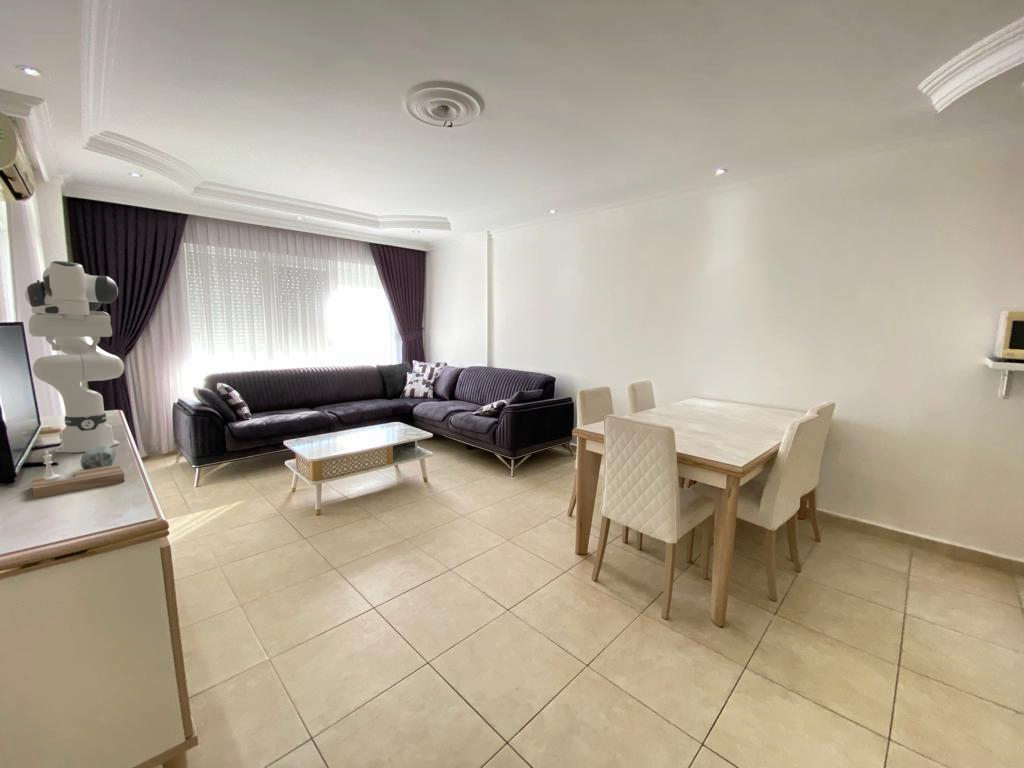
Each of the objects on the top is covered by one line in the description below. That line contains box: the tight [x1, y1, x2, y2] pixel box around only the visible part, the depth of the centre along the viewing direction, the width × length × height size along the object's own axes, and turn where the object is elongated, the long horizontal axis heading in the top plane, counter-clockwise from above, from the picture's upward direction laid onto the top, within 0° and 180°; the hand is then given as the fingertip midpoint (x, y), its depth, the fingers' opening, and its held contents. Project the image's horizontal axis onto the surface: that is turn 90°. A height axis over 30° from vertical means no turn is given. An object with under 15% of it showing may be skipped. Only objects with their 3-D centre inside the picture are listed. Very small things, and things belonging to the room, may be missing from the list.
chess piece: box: [42, 449, 62, 482], centre depth 139 cm, size 5×5×10 cm
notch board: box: [31, 464, 125, 499], centre depth 136 cm, size 12×20×3 cm, turn 139°
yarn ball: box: [80, 446, 117, 470], centre depth 150 cm, size 14×10×10 cm
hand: (75, 350), depth 145 cm, fingers open, 8 cm apart
